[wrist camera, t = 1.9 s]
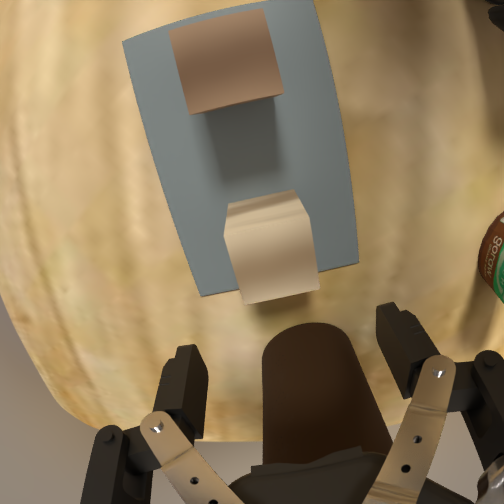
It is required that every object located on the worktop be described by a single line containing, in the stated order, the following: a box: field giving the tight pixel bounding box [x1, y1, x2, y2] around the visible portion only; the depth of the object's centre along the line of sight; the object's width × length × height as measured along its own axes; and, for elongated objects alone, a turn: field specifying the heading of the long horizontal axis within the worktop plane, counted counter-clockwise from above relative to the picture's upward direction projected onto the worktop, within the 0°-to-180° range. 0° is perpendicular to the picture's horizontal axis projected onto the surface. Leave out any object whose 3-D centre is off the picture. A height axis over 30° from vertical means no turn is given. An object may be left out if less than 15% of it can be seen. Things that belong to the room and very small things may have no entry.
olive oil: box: [262, 323, 393, 465], centre depth 20 cm, size 11×11×25 cm
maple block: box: [224, 189, 320, 305], centre depth 22 cm, size 5×5×6 cm
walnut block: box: [168, 8, 284, 115], centre depth 16 cm, size 5×5×6 cm
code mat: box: [122, 0, 359, 296], centre depth 22 cm, size 22×14×1 cm, turn 13°
